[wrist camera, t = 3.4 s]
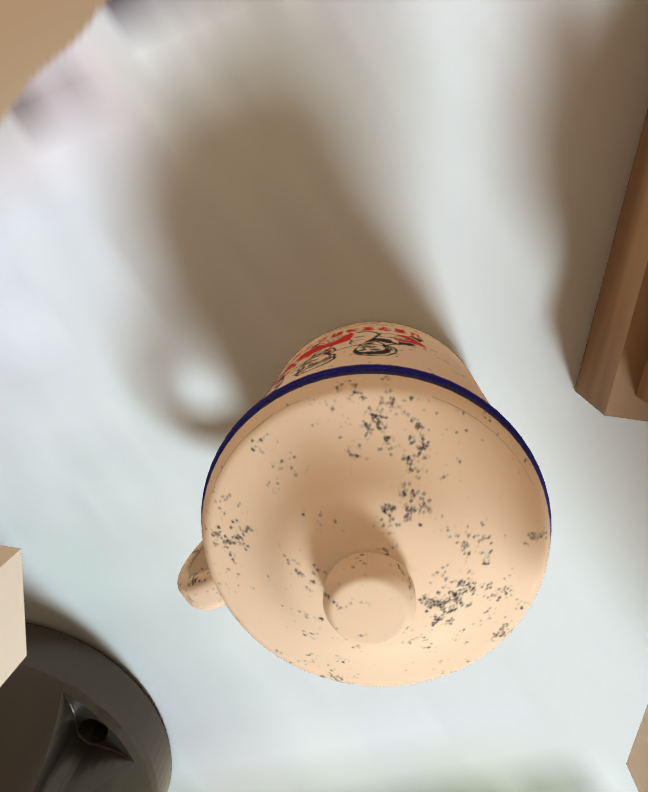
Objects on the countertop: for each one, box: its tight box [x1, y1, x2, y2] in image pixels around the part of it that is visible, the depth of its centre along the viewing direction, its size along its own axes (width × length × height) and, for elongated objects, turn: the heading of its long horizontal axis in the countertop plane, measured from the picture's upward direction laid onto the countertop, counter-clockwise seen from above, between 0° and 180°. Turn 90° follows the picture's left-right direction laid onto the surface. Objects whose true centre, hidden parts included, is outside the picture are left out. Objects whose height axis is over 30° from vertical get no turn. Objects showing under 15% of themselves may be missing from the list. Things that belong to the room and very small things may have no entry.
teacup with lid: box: [178, 322, 551, 686], centre depth 18 cm, size 12×9×12 cm
